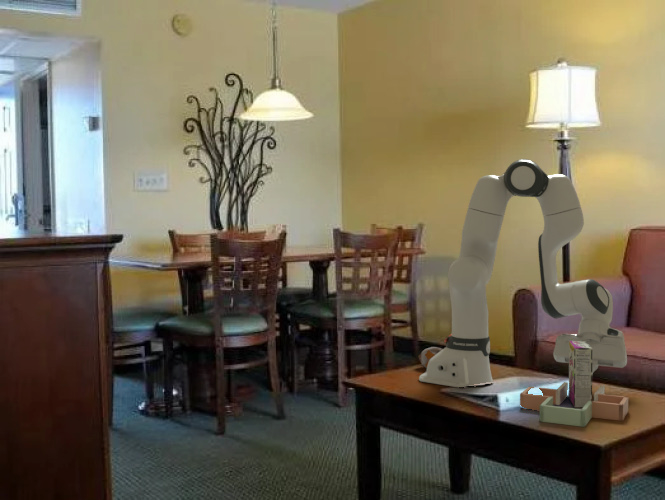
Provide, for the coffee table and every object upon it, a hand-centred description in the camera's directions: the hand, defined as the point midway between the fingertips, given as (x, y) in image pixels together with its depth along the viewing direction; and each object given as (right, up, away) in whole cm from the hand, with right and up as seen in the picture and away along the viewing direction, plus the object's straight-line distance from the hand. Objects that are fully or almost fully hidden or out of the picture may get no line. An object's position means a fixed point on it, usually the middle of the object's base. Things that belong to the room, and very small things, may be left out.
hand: (586, 375), depth 226 cm
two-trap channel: (-9, -7, -16) cm, 19 cm away
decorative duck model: (-37, -4, +38) cm, 53 cm away
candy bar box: (-5, -7, -8) cm, 12 cm away
